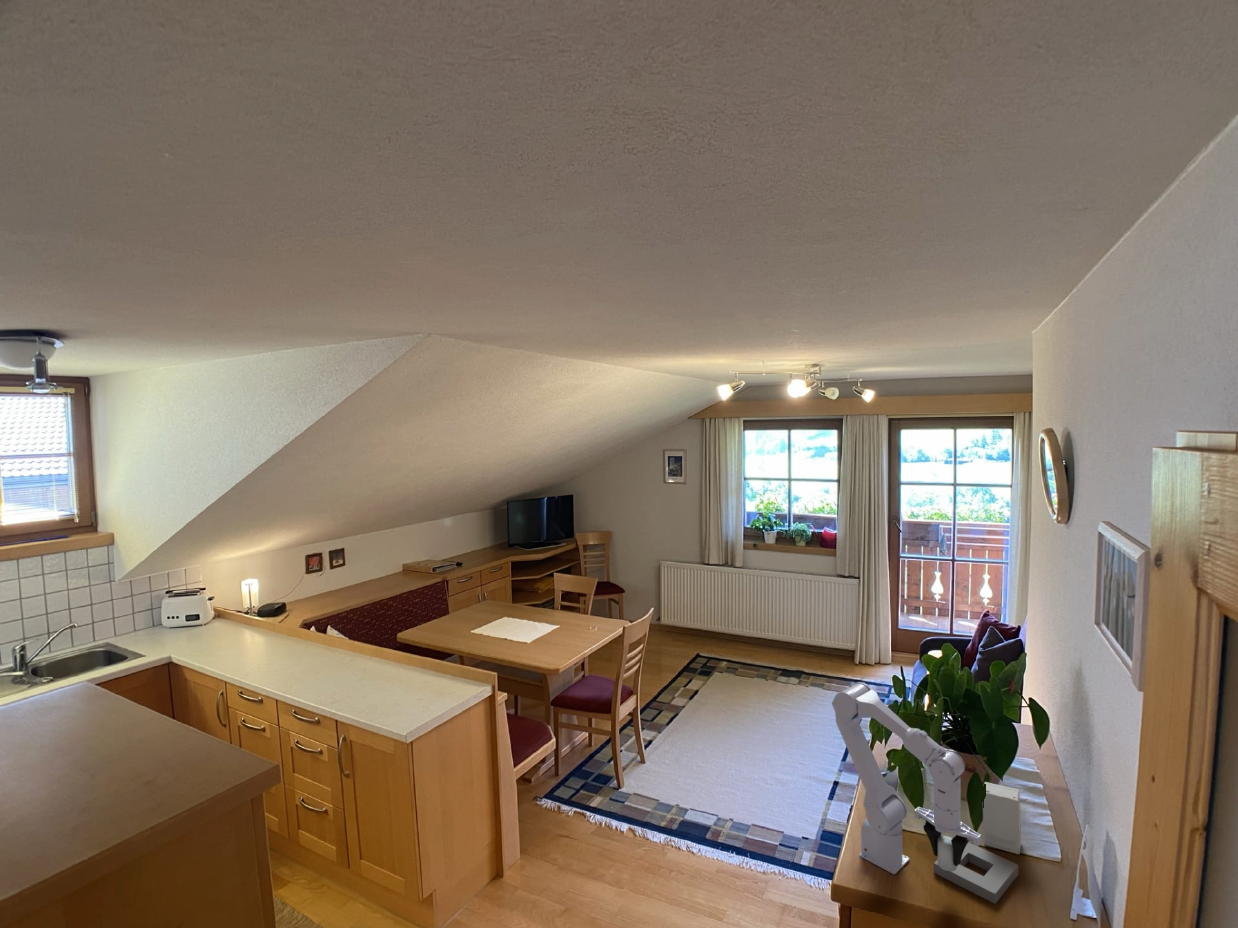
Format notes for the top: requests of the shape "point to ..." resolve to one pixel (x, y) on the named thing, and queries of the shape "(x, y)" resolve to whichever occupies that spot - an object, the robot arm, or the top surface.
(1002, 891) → the dock
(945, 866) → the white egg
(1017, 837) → the skincare box
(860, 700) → the robot arm
